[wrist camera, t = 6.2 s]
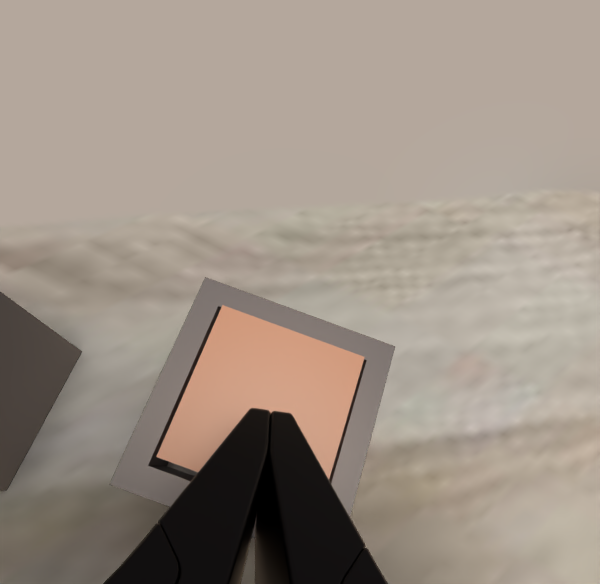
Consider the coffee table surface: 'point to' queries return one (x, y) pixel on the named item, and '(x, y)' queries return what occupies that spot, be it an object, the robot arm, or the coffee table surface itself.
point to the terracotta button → (262, 388)
